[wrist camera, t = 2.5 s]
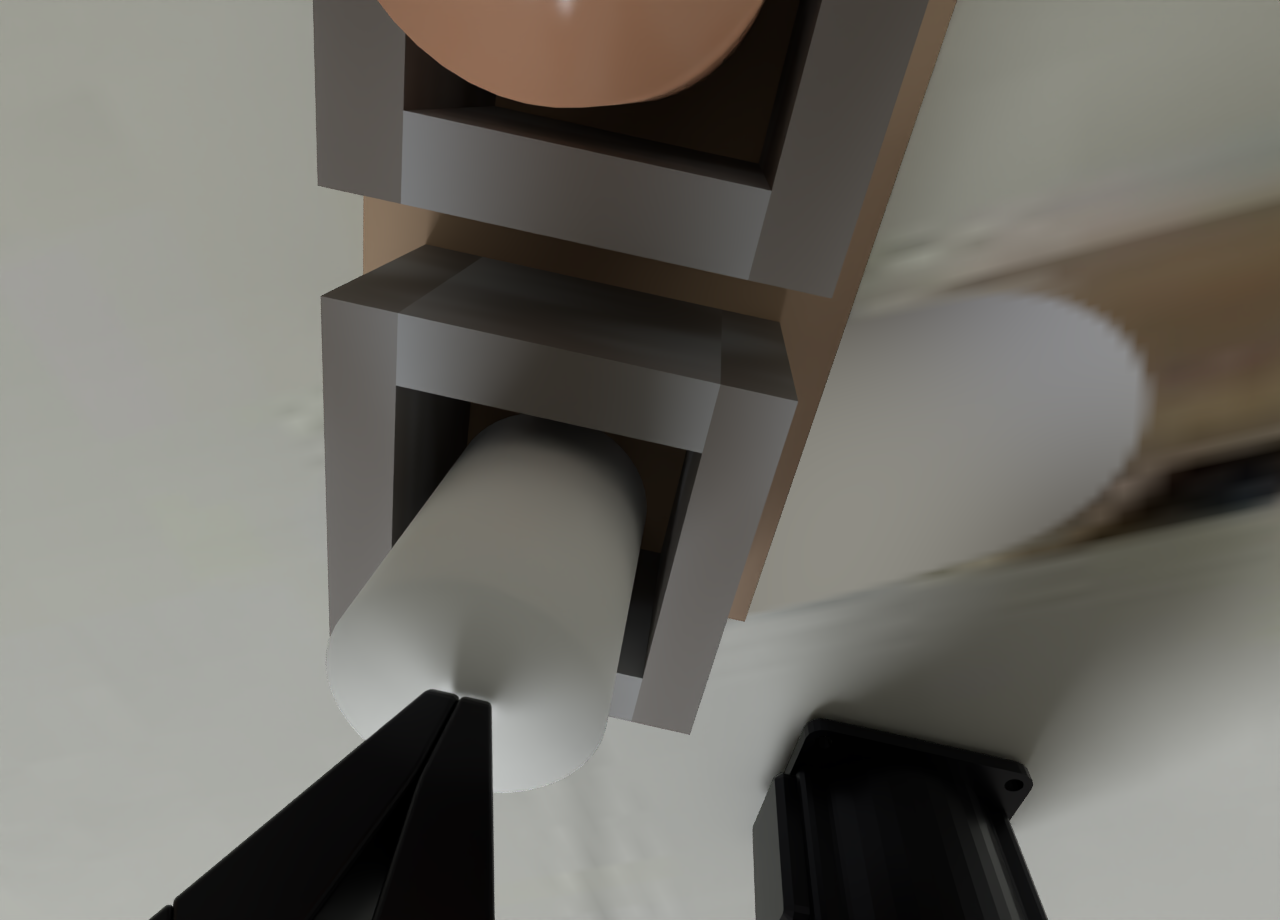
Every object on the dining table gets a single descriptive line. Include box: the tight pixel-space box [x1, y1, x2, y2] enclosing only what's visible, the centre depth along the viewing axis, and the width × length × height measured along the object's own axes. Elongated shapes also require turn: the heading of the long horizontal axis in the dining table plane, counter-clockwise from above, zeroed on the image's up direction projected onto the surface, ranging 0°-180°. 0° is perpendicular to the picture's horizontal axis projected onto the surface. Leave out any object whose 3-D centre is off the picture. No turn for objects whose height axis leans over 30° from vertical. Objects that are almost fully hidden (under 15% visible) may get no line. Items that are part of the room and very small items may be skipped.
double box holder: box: [313, 0, 957, 735], centre depth 12 cm, size 10×17×5 cm, turn 169°
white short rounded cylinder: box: [326, 414, 647, 793], centre depth 11 cm, size 4×4×5 cm
